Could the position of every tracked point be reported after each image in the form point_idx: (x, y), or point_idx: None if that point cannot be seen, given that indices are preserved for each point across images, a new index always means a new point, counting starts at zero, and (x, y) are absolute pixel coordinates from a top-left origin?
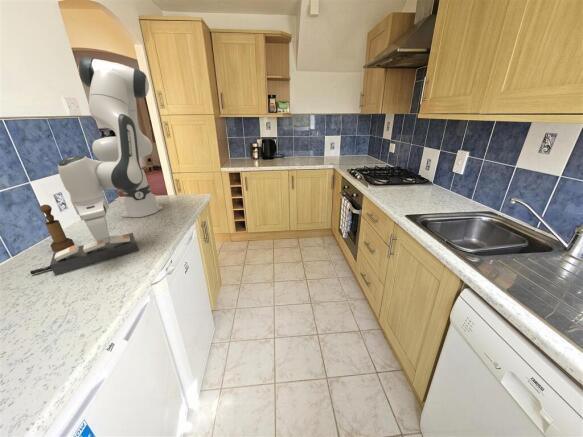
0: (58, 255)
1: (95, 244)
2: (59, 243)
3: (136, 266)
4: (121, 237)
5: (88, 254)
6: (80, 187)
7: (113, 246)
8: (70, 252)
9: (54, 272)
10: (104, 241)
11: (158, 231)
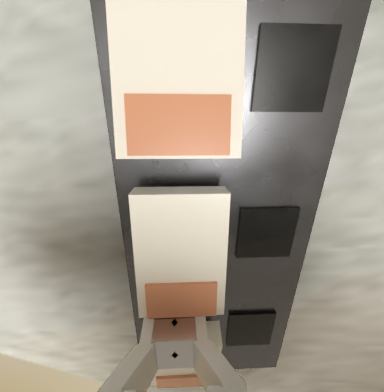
0: None
1: (157, 271)
2: None
3: (12, 311)
4: (179, 371)
5: (122, 197)
6: None
7: None
8: (117, 102)
9: None
10: (143, 326)
11: (284, 375)
